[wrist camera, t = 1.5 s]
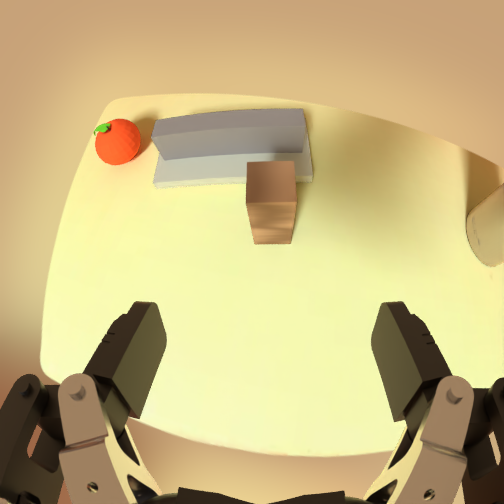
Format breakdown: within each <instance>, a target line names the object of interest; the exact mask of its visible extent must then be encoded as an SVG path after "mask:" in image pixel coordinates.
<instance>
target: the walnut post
mask: <svg viewBox="0 0 504 504" xmlns="http://www.w3.org/2000/svg"><path fill="white" fill-rule="evenodd" d="M246 206H247V211H248V215H249V220H250V225H251V230H252V234H253V239H254V244H290V243H291V237H292V231H293V225H294V219H295V212H296V206H297V194H296V180H295V167H294V161H260V162H247V176H246Z"/></svg>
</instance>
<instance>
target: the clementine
mask: <svg viewBox="0 0 504 504" xmlns="http://www.w3.org/2000/svg"><path fill="white" fill-rule="evenodd" d="M95 131H99V132H98V134H97V137H96V141H95V147H96V151H97V154H98V156H99V157H100V158H101V159H102V160H103V161H104V162H105V163H108V164H111V165H121V164H124V163H126V162H128V161H130V160H131V159H132V158H133V157H134V156H135V155H136V153H137V152H138V149H139V147H140V143H141V138H140V133H139V130H138V128H137V127H136V126H135V125H134V124H133V123H132V122H130V121H128V120H125V119H115V120H112V121H110V122H108V123H106V124H102V125H99V126H98V127H97V128H96V129H95ZM95 131H94V135H95Z"/></svg>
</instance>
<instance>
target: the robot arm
mask: <svg viewBox="0 0 504 504" xmlns="http://www.w3.org/2000/svg"><path fill="white" fill-rule="evenodd" d="M466 230H467V236H468V239H469V243H470V245H471V248H472V250H473V251H474V253H475V255H476V256H477V257H478V259H479V260H480V261H481V262H482V263H484V264H485V265H487V266H490V267H494V266H497V265H499V264H501V263H504V183H503V184H502V185H501V186H500V187H498V188H497V189H496V190H495V191H494V192H493V193H492V194H490V195H489V196H488V197H487V198H486V199H484V200H483V201H482V202H481V203H480V204H478V205H477V206H476V207H475V208H473V209H472V210H471V211H470V213H469V214H468V217H467V222H466ZM166 343H167V337H166V332H165V329H164V326H163V322H162V319H161V316H160V312H159V309H158V306H157V304H156V303H154V302H140V301H136V302H134V303H133V305H132V307H131V308H130V310H129V311H128V313H127V314H122V315H121V316H120V317H119V318H118V319H116V320H115V321H114V322H113V323H112V325H111V326H110V328H109V329H108V331H107V334H105V336H104V338H103V339H102V343H101V342H100V344H99V346H98V347H97V349H96V351H95V352H94V354H93V356H92V358H91V359H90V361H89V363H88V364H87V366H86V368H85V370H84V371H83V373H82V374H81V373H79V374H73V375H71V376H69V377H67V378H66V379H65V380H64V381H63V382H62V383H61V385H43V384H42V382H41V381H40V380H39V379H38V377H37V376H35V375H33V374H26V375H23V376H21V377H20V378H19V379H18V380H17V381H16V382H15V383H14V385H13V387H12V389H11V390H10V392H9V394H8V396H7V398H6V400H5V401H4V403H3V405H2V407H1V409H0V504H57V502H58V499H59V495H60V491H61V488H62V484H63V480H65V483H66V487H67V490H68V493H69V496H70V499H71V502H72V504H253V503H249V502H246V501H242V500H238V499H235V498H231V497H228V496H225V495H222V494H219V493H213V492H205V491H198V490H192V489H187V488H181V487H179V489H178V493H172V494H164V495H163V494H162V492H161V490H160V488H159V486H158V485H157V483H156V482H155V480H154V479H153V478H152V476H151V475H150V474H149V472H148V471H147V469H146V468H145V466H144V464H143V462H142V460H141V457H140V455H139V453H138V451H137V448H136V446H135V444H134V442H133V439H132V437H131V434H130V431H129V429H128V427H127V425H126V421H127V419H128V416H129V417H133V418H137V419H140V416H141V413H142V410H143V408H144V405H145V402H146V399H147V396H148V394H149V391H150V388H151V386H152V383H153V380H154V377H155V375H156V372H157V369H158V367H159V364H160V362H161V359H162V356H163V354H164V351H165V348H166ZM371 346H372V351H373V354H374V357H375V360H376V363H377V366H378V369H379V372H380V375H381V378H382V382H383V385H384V388H385V391H386V395H387V398H388V402H389V405H390V409H391V412H392V416H393V420H394V422H397V421H401V420H405V421H406V424H407V426H406V427H405V429H404V431H403V433H402V435H401V437H400V439H399V441H398V443H397V445H396V447H395V449H394V451H393V453H392V455H391V457H390V459H389V461H388V463H387V464H386V466H385V468H384V470H383V471H382V473H381V474H380V476H379V477H378V478H377V479H376V480H375V481H374V483H373V484H372V485H371V487H370V488H369V489H368V491H367V492H366V494H365V495H364V497H363V498H362V499H358V498H353V497H345V493H344V491H338V492H330V493H321V494H311V495H302V496H299V497H295V498H291V499H287V500H284V501H279V502H274V503H269V504H452V503H453V501H454V498H455V496H456V493H457V491H458V488H459V486H460V483H461V481H462V487H463V493H464V501H465V504H504V378H499V379H498V380H496V381H495V383H494V384H493V385H492V386H491V388H472V387H471V385H470V384H469V383H468V382H467V381H466V380H465V379H463V378H461V377H459V376H453V375H452V373H451V371H450V369H449V367H448V365H447V363H446V361H445V359H444V357H443V355H442V354H441V352H440V350H439V348H438V346H437V344H435V340H434V339H433V337H432V335H430V332H429V330H428V328H427V326H426V325H425V323H424V322H423V321H422V320H421V319H420V318H419V317H417V316H416V315H415V314H410V312H409V311H408V309H407V307H406V305H405V304H404V303H403V302H402V301H398V302H384V303H382V304H381V306H380V309H379V313H378V316H377V319H376V323H375V326H374V329H373V332H372V337H371ZM36 425H38V426H39V427H40V428H41V429H42V431H41V433H40V436H39V439H38V441H37V443H36V446H35V449H34V451H33V454H32V456H31V457H30V458H29V456H28V454H27V447H28V444H29V442H30V439H31V437H32V435H33V432H34V430H35V428H36ZM493 431H494V434H495V437H496V440H497V444H498V447H499V451H500V455H501V460H500V463H499V465H497V463H496V460H495V456H494V452H493V448H492V445H491V442H490V438H489V435H490V434H491V433H492V432H493Z"/></svg>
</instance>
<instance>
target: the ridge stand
mask: <svg viewBox="0 0 504 504" xmlns="http://www.w3.org/2000/svg"><path fill="white" fill-rule="evenodd" d="M151 139H152V140H153V142H154V144H155V146H156V147H157V149H158V151H159V152H160V153H159V157H158V162H157V166H156V171H155V175H154V180H153V184H154V186H155V187H156V188H157V189H163V188H174V187H187V186H201V185H217V184H239V183H246V176H247V162H260V161H294V167H295V180H296V182H312V178H313V171H312V163H311V155H310V147H309V140H308V133H307V126H306V120H305V118H304V113H303V109H252V110H235V111H222V112H211V113H202V114H194V115H186V116H179V117H172V118H166V119H160V120H156V122H155V125H154V128H153V132H152V135H151Z"/></svg>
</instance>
